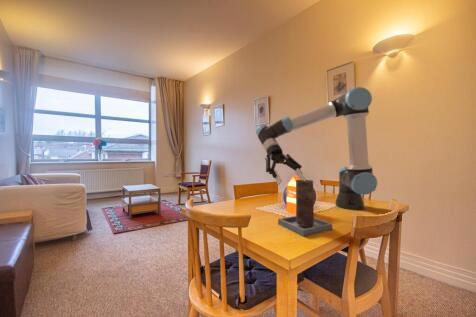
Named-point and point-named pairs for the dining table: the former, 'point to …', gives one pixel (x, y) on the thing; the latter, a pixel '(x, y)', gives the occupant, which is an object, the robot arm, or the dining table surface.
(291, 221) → the tray
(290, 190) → the orange juice
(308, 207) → the candle
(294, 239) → the dining table surface
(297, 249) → the dining table surface
